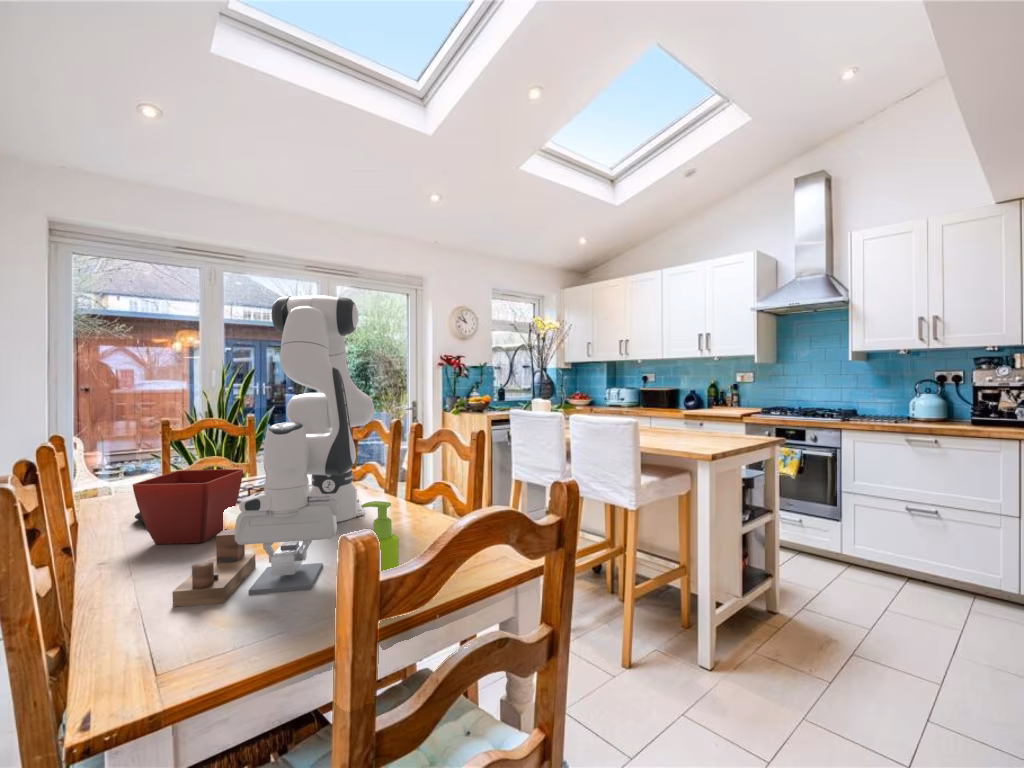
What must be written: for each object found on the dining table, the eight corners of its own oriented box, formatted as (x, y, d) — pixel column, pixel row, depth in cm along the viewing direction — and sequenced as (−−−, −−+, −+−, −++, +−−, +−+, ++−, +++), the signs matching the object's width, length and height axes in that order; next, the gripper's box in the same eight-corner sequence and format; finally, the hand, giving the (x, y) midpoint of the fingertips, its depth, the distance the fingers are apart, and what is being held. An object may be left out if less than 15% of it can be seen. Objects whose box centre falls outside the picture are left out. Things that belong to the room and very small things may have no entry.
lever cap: (282, 561, 108) (282, 540, 108) (303, 559, 109) (303, 539, 109) (271, 576, 100) (271, 553, 100) (294, 574, 101) (293, 551, 101)
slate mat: (267, 570, 109) (267, 566, 109) (322, 566, 111) (322, 562, 111) (248, 594, 97) (248, 590, 97) (310, 589, 100) (310, 585, 100)
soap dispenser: (370, 597, 96) (369, 497, 95) (403, 599, 95) (402, 499, 94) (356, 611, 90) (355, 506, 90) (391, 614, 89) (390, 507, 89)
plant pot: (180, 525, 142) (178, 469, 142) (245, 524, 143) (244, 468, 142) (131, 549, 123) (129, 484, 122) (207, 548, 124) (206, 483, 123)
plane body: (213, 569, 110) (212, 530, 110) (255, 566, 112) (254, 528, 111) (172, 607, 92) (171, 560, 92) (223, 602, 94) (222, 557, 94)
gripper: (339, 491, 109) (340, 551, 109) (242, 496, 105) (243, 558, 106) (334, 499, 103) (335, 562, 103) (230, 504, 99) (232, 570, 100)
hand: (288, 560), depth 104 cm, fingers closed on lever cap, 4 cm apart
